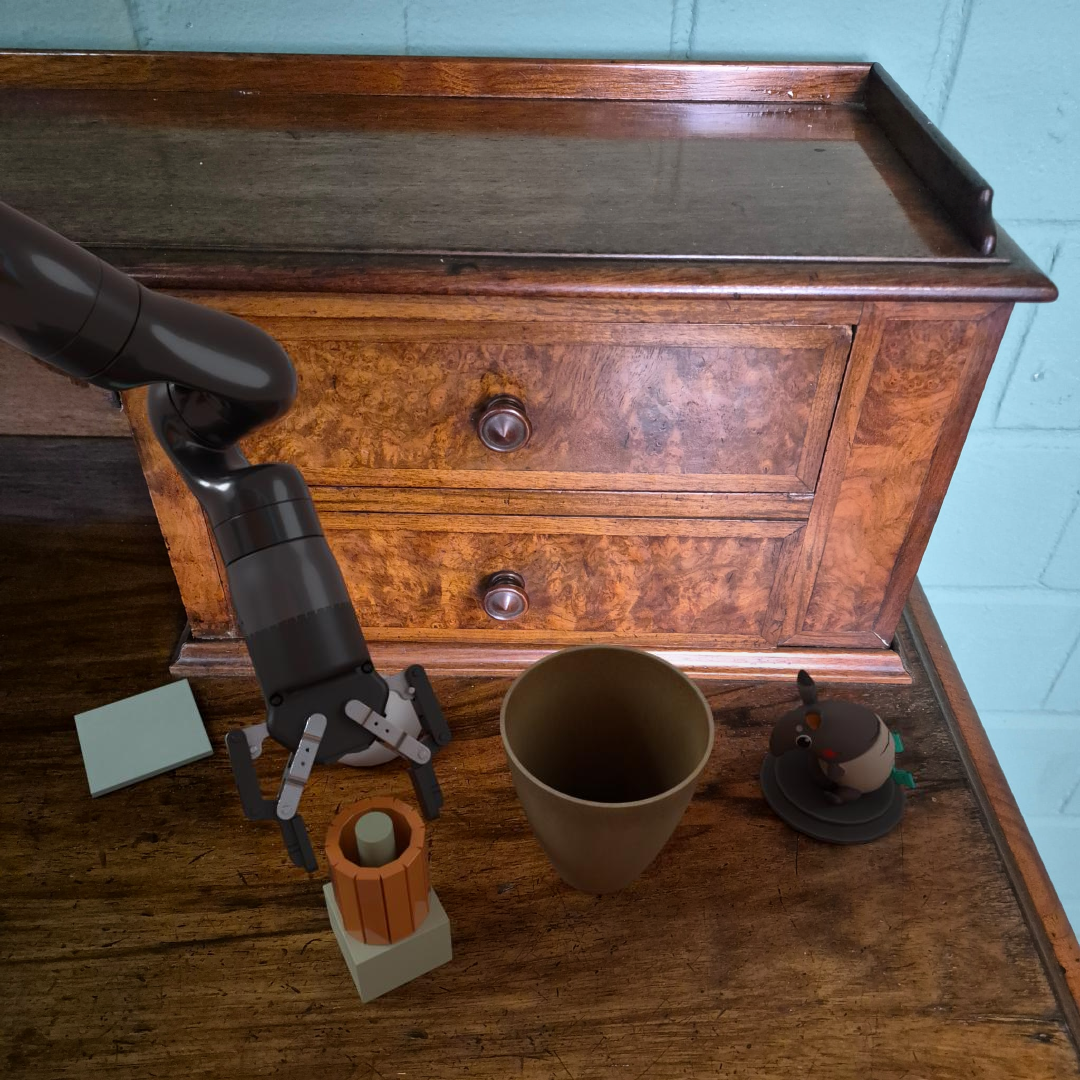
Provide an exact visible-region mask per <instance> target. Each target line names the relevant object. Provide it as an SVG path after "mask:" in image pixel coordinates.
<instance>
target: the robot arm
mask: <svg viewBox="0 0 1080 1080" xmlns="http://www.w3.org/2000/svg"><path fill="white" fill-rule="evenodd" d="M0 339H1V340H2V341H4V342H6V343H8V344H10V345H12V346H14V347H15V348H17V349H19V350H21V351H23V352H25V353H27V354H29V355H31V356H33V357H35V358H37V359H39V360H41V361H43V362H45V363H47V364H50V365H51V366H53V367H55V368H57V369H60V370H62V371H63V372H65V373H68V374H70V375H72V376H74V377H76V378H78V379H80V380H82V381H84V382H86V383H88V384H90V385H92V386H95V387H98V388H100V389H103V390H106V391H111V392H125V391H131V390H135V389H140V388H143V387H147V389H146V396H145V407H146V416H147V419H148V424H149V427H150V428H151V431H152V433H153V435H154V437H155V439H156V441H157V442H158V443H159V446H160V447H161V448H162V450H163V451H164V453H165V454H166V456H167V457H168V459H169V461H170V462H171V463H172V465H173V466H174V468H175V469H176V471H177V473H179V475H180V477H181V478H182V480H183V481H184V483H185V485H186V487H187V488H188V489H189V491H190V492H191V493H192V495H193V496H194V497H195V499H196V500H197V502H198V503H199V505H200V506H201V508H202V509H203V511H204V513H205V514H206V516H207V518H208V519H207V520H208V522H209V526H210V528H211V531H212V534H213V538H214V540H215V543H216V546H217V549H218V552H219V556H220V559H221V561H222V564H223V567H224V569H225V571H224V572H225V574H226V579H227V584H228V589H229V593H230V599H231V603H232V608H233V610H234V613H235V616H236V625H237V627H238V630H239V631H240V632H241V634H242V636H243V640H244V644H245V647H246V649H247V652H248V655H249V658H250V661H251V665H252V667H253V670H254V673H255V676H256V679H257V682H258V686H259V688H260V691H261V694H262V697H263V700H264V704H265V707H266V717H265V721H264V722H262V723H258V724H255V725H251V726H248V727H245V728H242V729H241V728H234V729H230V730H229V731H228V732H227V733H226V734H225V735H224V743H225V747H226V750H227V755H228V758H229V762H230V766H231V770H232V773H233V778H234V781H235V785H236V789H237V792H238V797H239V801H240V805H241V808H242V812H243V814H244V816H245V817H246V818H247V819H248V820H249V821H252V822H258V821H274V822H276V823H277V825H278V827H279V830H280V834H281V836H282V840H283V842H284V845H285V848H286V852H287V854H288V858H289V860H290V861H291V863H292V864H293V865H294V866H295V867H296V868H297V869H298V870H299V869H301V868H304V870H305V872H306V874H308V875H310V874H314V873H315V872H317V871H319V870H320V868H319V867H320V866H319V864H318V861H317V858H316V855H315V851H314V848H313V846H312V843H311V840H310V837H309V834H308V831H307V828H306V825H305V822H304V819H303V816H302V814H300V813H298V811H297V809H298V806H299V803H300V800H301V797H302V794H303V791H304V788H305V786H306V785H307V782H308V780H309V776H310V774H311V771H312V767H313V766H320V767H327V766H329V765H331V764H334V763H337V762H338V760H339V759H340V758H342V757H343V756H345V755H346V754H352V753H359V752H362V751H364V750H367V749H370V748H369V747H370V746H371V745H372V744H373V743H374V742H375V741H376V742H378V743H379V744H381V745H382V746H384V747H386V748H388V749H390V750H392V751H393V752H395V753H396V754H398V755H399V756H398V757H401V758H402V759H403V760H405V761H407V762H408V765H409V767H408V768H406V770H407V773H408V776H409V779H410V783H411V785H412V788H413V791H414V795H415V797H416V801H417V803H418V806H419V809H420V811H421V815H422V816H423V818H424V820H425V821H427V822H433V821H435V820H437V819H440V818H441V813H440V810H439V809H441V808H443V807H445V797H444V795H443V791H442V789H441V786H440V782H439V779H438V777H437V774H436V772H435V769H434V765H433V758H434V756H435V755H436V754H437V752H439V751H440V750H441V749H442V748H444V747H445V746H447V745H448V744H450V743H451V741H452V737H453V736H452V732H451V730H450V728H449V725H448V722H447V720H446V718H445V715H444V712H443V710H442V708H441V705H440V703H439V701H438V698H437V696H436V693H435V691H434V689H433V685H432V684H431V682H430V679H429V677H428V674H427V672H426V670H425V667H424V666H423V665H421V664H419V663H414V664H410V665H407V666H406V667H404V668H403V669H401V671H398V672H396V673H394V674H392V675H389V676H390V677H387V678H385V679H384V678H383V677H381V676H380V675H379V674H380V673H379V672H378V670H377V669H376V668H375V665H374V663H373V660H372V656H371V654H370V651H369V648H368V645H367V643H366V642H367V641H366V639H365V637H364V633H363V630H362V627H361V625H360V622H359V619H358V615H357V613H356V610H355V607H354V604H353V601H352V598H351V595H350V593H349V590H348V587H347V586H348V585H347V584H346V581H345V578H344V575H343V572H342V570H341V567H340V564H339V563H338V560H337V559H336V557H335V555H334V552H333V551H332V549H331V547H330V544H329V542H328V539H327V537H326V534H325V531H324V528H323V525H322V522H321V520H320V517H319V514H318V511H317V508H316V504H315V502H314V500H313V497H312V494H311V493H312V492H311V490H310V488H309V486H308V483H307V481H306V479H305V476H304V474H303V473H302V472H301V471H300V469H298V467H296V466H295V465H294V464H291V463H290V462H289V463H288V462H285V461H271V462H270V461H269V462H262V463H256V464H252V463H251V461H249V459H248V458H247V457H246V455H245V454H244V452H243V450H242V447H241V443H240V442H242V441H244V440H246V439H247V438H250V437H251V436H253V435H255V434H257V433H259V432H260V431H262V430H264V429H266V428H268V427H270V426H272V425H273V424H275V423H277V422H279V421H280V420H282V419H283V418H284V417H285V416H286V415H287V414H288V413H289V412H290V411H291V410H292V409H293V407H294V406H295V404H296V401H297V399H298V396H299V395H298V394H299V389H300V387H299V386H300V385H299V378H298V373H297V370H296V367H295V365H294V363H293V361H292V359H291V357H290V355H289V354H288V353H287V351H286V350H285V349H284V348H283V346H282V345H281V344H280V343H279V342H278V341H277V340H276V339H275V338H274V337H273V336H271V335H270V334H269V333H267V332H266V331H265V330H263V329H262V328H260V327H258V326H257V325H255V324H253V323H251V322H249V321H247V320H245V319H243V318H240V317H237V316H236V315H233V314H229V313H226V312H223V311H220V310H217V309H215V308H211V307H208V306H206V305H202V304H199V303H195V302H192V301H190V300H187V299H184V298H180V297H176V296H173V295H169V294H164V293H162V292H158V291H155V290H152V289H150V288H149V287H146V286H145V285H143V284H142V283H141V282H139V281H138V280H136V279H134V278H133V277H131V276H129V275H128V274H126V273H125V272H123V271H121V270H119V269H118V268H116V267H115V266H113V265H111V264H110V263H108V262H107V261H105V260H104V259H101V258H100V257H98V255H95V254H94V253H92V252H90V251H88V250H87V249H86V248H84V247H83V246H81V245H78V244H77V243H75V242H74V241H72V240H70V239H69V238H67V237H65V236H63V235H61V234H59V233H58V232H56V231H54V230H53V229H51V228H49V227H48V226H46V225H44V224H42V223H40V222H39V221H37V220H35V219H34V218H32V217H30V216H28V215H26V214H24V213H22V212H21V211H19V210H18V209H15V208H14V207H12V206H10V205H8V204H7V203H5V202H3V201H2V200H0ZM390 691H394V692H396V693H397V694H398V695H399V697H400V698H401V699H403V700H410V701H411V703H412V706H413V708H414V711H415V713H416V715H417V718H418V720H419V723H420V725H421V727H422V729H421V731H422V732H423V735H424V736H423V737H421V738H420V739H419V740H418V739H416V740H415V739H414V738H412V737H411V736H409V735H408V734H406V732H404V731H403V730H402V729H400V728H399V727H397V726H395V725H394V724H392V723H391V722H389V721H388V720H386V719H385V718H386V717H384V715H385V713H384V712H385V708H386V705H387V701H388V698H389V694H390ZM267 737H269V738H270V739H271V740H272V741H274V742H275V743H277V744H278V745H280V746H282V747H283V748H285V749H286V750H287V751H289V752H290V755H289V756H288V760H287V763H286V766H285V769H284V772H283V775H282V780H281V782H280V785H279V789H278V791H277V795H276V798H269V799H268V798H267V799H263V795H262V791H261V788H260V784H259V780H258V776H257V772H256V768H255V765H254V760H255V759H258V757H259V756H261V755H262V752H263V747H262V745H263V742H264V740H265V739H266V738H267Z"/></svg>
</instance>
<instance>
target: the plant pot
mask: <svg viewBox="0 0 1080 1080" xmlns="http://www.w3.org/2000/svg"><path fill="white" fill-rule="evenodd" d="M499 728H500V729H499V731H500V736H501V740H502V744H503V750H504V753H505V756H506V761H507V764H508V769H509V773H510V778H511V780H512V783H513V786H514V787H513V788H514V789H515V794H516V796H517V798H518V801H519V804H520V806H521V809H522V812H523V814H524V816H525V819H526V821H527V823H528V825H529V828H530V829H531V831H532V833H533V835H534V838H535V840H536V842H537V844H538V845H539V847H540V848H541V850H542V853H544V854H543V855H545V857H546V858H547V860H548V861H549V863H550V865H551V866H552V868H554V870H555V871H556V873H557V874H558V875H559V877H560V878H561V879H562V880H563V881H564V882H565V883H567V884H568V885H569V886H570V887H572V888H574V889H576V890H579V891H581V892H584V893H588V894H593V895H608V894H612V893H616V892H618V891H621V890H623V889H625V888H627V887H628V886H629V885H631V884H632V883H633V882H634V881H635V880H636V879H637V878H638V877H639V876H640V875H641V874H642V873H643V872H644V871H645V870H646V869H647V868H648V866H649V865H651V863H652V862H653V861H654V860H655V858H656V857H657V856H658V854H660V852H661V851H662V849H663V848H664V847H665V845H666V843H667V842H668V841H669V839H670V838H671V836H672V835H673V833H674V831H675V830H676V829H677V827H678V825H679V823H680V822H681V820H682V818H683V816H684V814H685V812H686V810H687V809H688V807H689V804H690V802H691V800H692V799H693V796H694V794H695V792H696V789H697V787H698V785H699V782H700V781H701V778H702V776H703V773H704V771H705V769H706V766H707V764H708V761H709V758H710V756H711V753H712V750H713V746H714V740H715V722H714V716H713V712H712V710H711V706H710V704H709V702H708V701H707V699H706V696H705V695H704V693H703V692H702V690H701V689H700V688H699V686H698V685H697V683H695V682H694V680H692V679H691V677H689V675H687V674H686V673H685V672H684V671H682V670H681V669H680V668H678V667H677V666H676V665H675V664H673V663H671V662H670V661H667V660H666V659H664V658H663V657H660V656H658V655H656V654H653V653H651V652H648V651H645V650H643V649H639V648H634V647H630V646H624V645H620V644H619V645H618V644H606V643H605V644H601V643H600V644H599V643H598V644H583V645H578V646H577V645H576V646H572V647H567V648H564V649H560V650H558V651H555V652H553V653H550V654H547V655H546V656H543V657H542V658H539V659H538V660H536V661H535V662H534V663H532V664H530V665H529V666H528V667H527V668H525V669H524V670H523V671H522V672H521V673H520V674H519V675H517V676H516V678H515V679H514V680H513V682H512V683H511V684H510V686H509V687H508V690H507V691H506V694H505V695H504V698H503V700H502V703H501V706H500V712H499Z"/></svg>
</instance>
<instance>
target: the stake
mask: <svg viewBox="0 0 1080 1080" xmlns="http://www.w3.org/2000/svg"><path fill="white" fill-rule="evenodd" d="M355 833H356V839H357V845H358V850H359V856H360V862H361V867H368V868H380V867H382V866H384V865H386V864H389V863H391V862H393V861H395V860H397V855H396V847H395V839H394V831H393V824H392V820H391V819H390V817H389V816H388V815H386V814H384V813H381V812H371V813H368V814H366V815H364V816H362V817H361V818H360V819H359V820H358V822H357V824H356V827H355ZM322 889H323V894H324V895H323V896H324V898H325V905H326V908H327V913H328V918H329V922H330V926H331V929H332V932H333V934H334V937H335V938H336V941H337V944H338V947H339V948H340V951H341V953H342V955H343V958H344V961H345V963H346V966H347V968H348V970H349V973H350V975H351V977H352V980H353V982H354V985H355V987H356V990H357V992H358V995H359V998H360V1000H361V1003H362V1004H363V1005H364V1004H366V1003H369V1002H371V1001H373V1000H374V999H376V998H379V997H380V996H382V995H384V994H386V993H389V992H391V991H393V990H394V989H397V988H399V987H400V986H402V985H405V984H407V983H408V982H410V981H413V980H414V979H416V978H418V977H420V976H422V975H425V974H426V973H428V972H430V971H432V970H434V969H436V968H438V967H440V966H442V965H444V964H446V963H448V962H450V961H452V960H453V949H452V939H451V937H452V936H451V923H450V919H449V917H448V915H447V913H446V910H445V909H444V907H443V906H442V903H441V902H440V898H438V896H437V894H436V892H435V889H434V888H433V886H432V885H431V892H432V896H431V905H430V912H429V913H428V917H427V918H426V919H425V920H424V922H423V923H422V924H421V926H420V927H419V928H418V930H417V931H416V932H414V931H412V935H411V936H409V937H407V938H405V939H403V940H401V941H399V942H397V943H395V944H392V943H391V941H390V942H389V945H368V944H367V941H366V942H365V943H364V944H363V943H362V942H360V941H358V940H357V939H355V938H354V937H352V936H350V935H349V934H347V931H345V930H344V928H343V925H342V923H341V920H340V918H339V916H338V912H337V907H336V902H335V897H334V893H333V888H332V883H331V881H330V882H328V883H325V884H324V885H323V886H322Z"/></svg>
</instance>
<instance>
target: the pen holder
mask: <svg viewBox="0 0 1080 1080" xmlns="http://www.w3.org/2000/svg"><path fill="white" fill-rule="evenodd" d="M371 812H381V813H384V814H386V815H388V816H389V817H390V819H391V820H392V824H393V831H394V839H395V847H396V855H397V860H395V861H393V862H391V863H389V864H386V865H384V866H382V867H380V868H368V867H361V862H360V856H359V850H358V845H357V839H356V833H355V827H356V824H357V822H358V820H359V819H360V818H361V817H362V816H364V815H366V814H368V813H371ZM324 853H325V858H326V862H327V867H328V872H329V877H330V878H329V879H330V882H331V883H332V888H333V893H334V897H335V902H336V907H337V912H338V916H339V918H340V920H341V923H342V925H343V928H344V930H345V931H347V934H349V935H350V936H352V937H354V938H355V939H357V940H358V941H360V942H362V943H363V944H364V943H365V942H366V941H367V944H368V945H389V942H390V941H391V943H392V944H395V943H397V942H399V941H401V940H403V939H405V938H407V937H409V936H411V935H412V931H414V932H416V931H417V930H418V928H419V927H420V926H421V924H422V923H423V922H424V920H425V919H426V918H427V917H428V913H429V912H430V905H431V896H432V892H431V886H432V883H431V874H430V862H429V851H428V841H427V831H426V825H425V822H424V821H423V819H422V817H421V815H420V814H419V812H418V809H417V808H416V809H415V808H414V807H413V806H412V805H411V804H408V803H406V802H405V801H404V800H401V799H399V798H394V797H393V796H371V798H369V797H366V798H363V799H361V800H359V801H356V802H354V803H351V804H349V805H347V808H345V807H344V808H343V809H342V810H341V811H340V812H339V813H338V814H337V816H336V817H335V818H333V820H332V821H331V822H330V826H328V827H327V832H326V837H325V841H324Z"/></svg>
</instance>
